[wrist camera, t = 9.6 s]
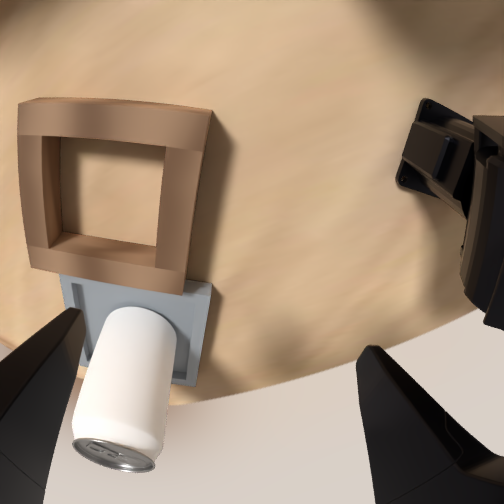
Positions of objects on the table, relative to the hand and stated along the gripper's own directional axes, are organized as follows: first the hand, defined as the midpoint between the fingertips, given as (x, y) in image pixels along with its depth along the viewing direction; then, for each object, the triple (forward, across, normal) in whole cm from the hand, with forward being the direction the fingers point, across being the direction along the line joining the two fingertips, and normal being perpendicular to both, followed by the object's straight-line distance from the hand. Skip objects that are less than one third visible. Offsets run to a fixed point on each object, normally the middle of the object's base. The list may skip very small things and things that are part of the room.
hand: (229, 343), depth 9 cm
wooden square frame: (+13, +8, +2) cm, 15 cm away
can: (+13, +5, +14) cm, 20 cm away
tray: (+13, +6, +14) cm, 20 cm away
